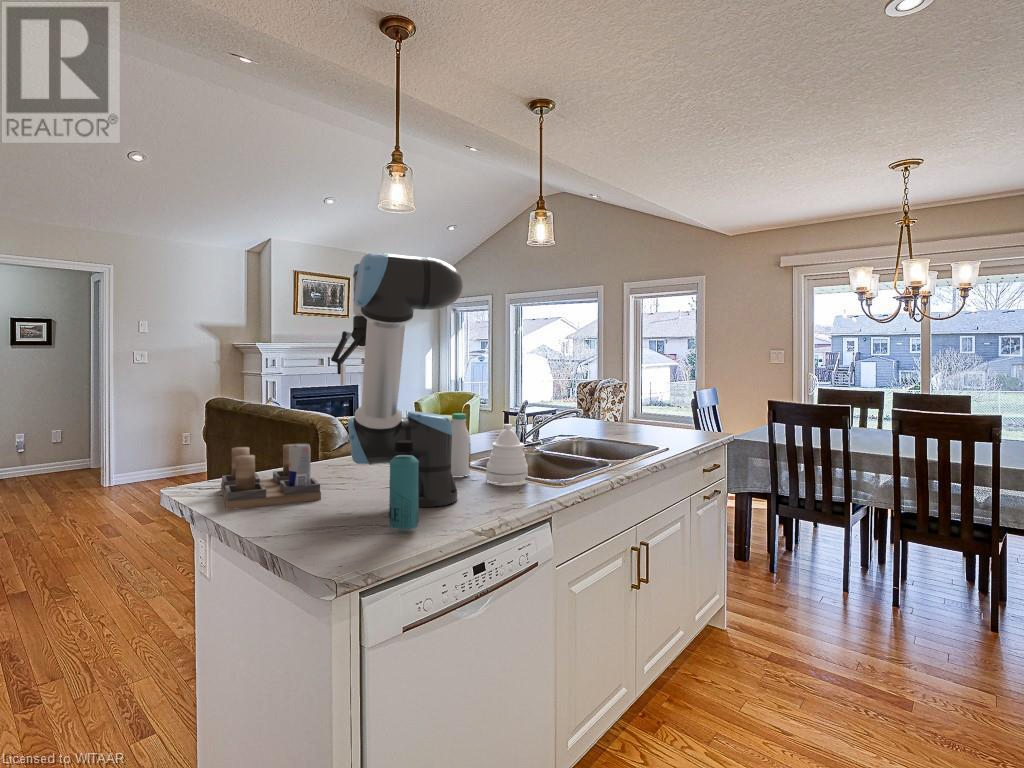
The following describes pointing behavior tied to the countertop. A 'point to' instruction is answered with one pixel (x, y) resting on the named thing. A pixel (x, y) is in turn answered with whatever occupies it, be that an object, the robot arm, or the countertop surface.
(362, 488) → the countertop surface
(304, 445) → the energy drink
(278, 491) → the pillar candle tray
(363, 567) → the countertop surface
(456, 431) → the milk bottle
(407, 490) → the beverage bottle
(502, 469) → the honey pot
